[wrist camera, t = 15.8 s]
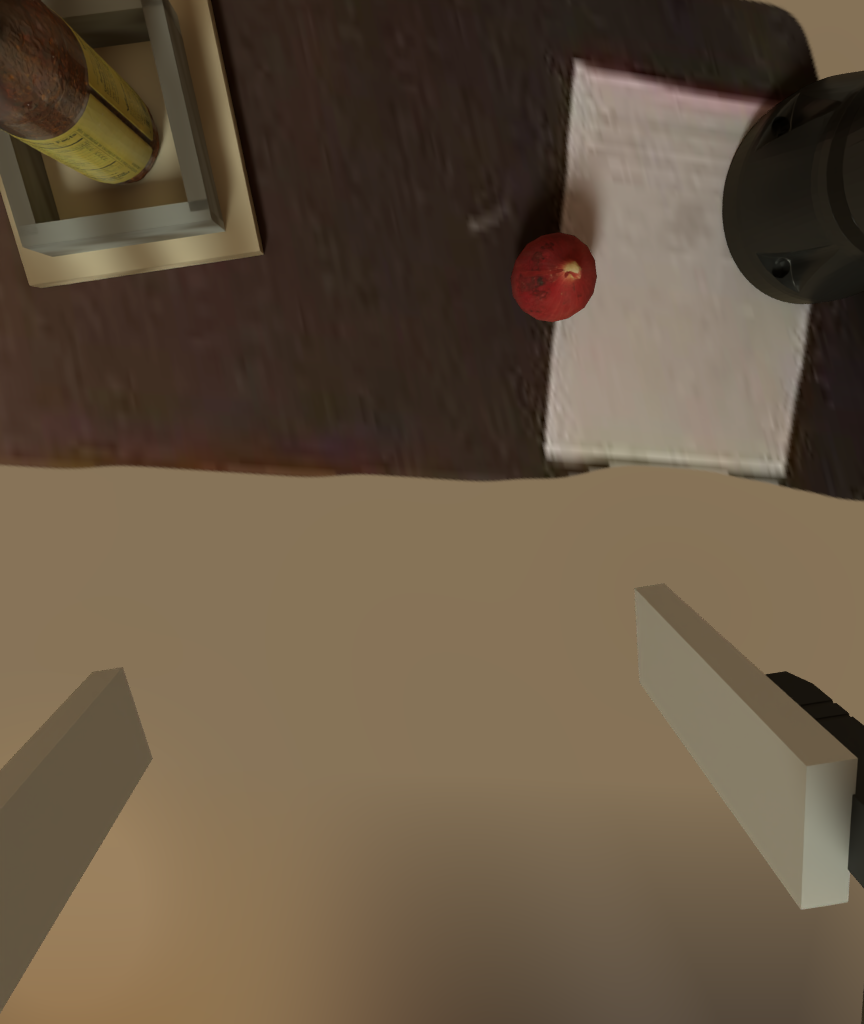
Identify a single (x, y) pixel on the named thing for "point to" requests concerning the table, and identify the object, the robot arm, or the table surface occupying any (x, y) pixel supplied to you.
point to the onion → (554, 277)
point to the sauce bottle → (70, 98)
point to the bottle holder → (174, 175)
